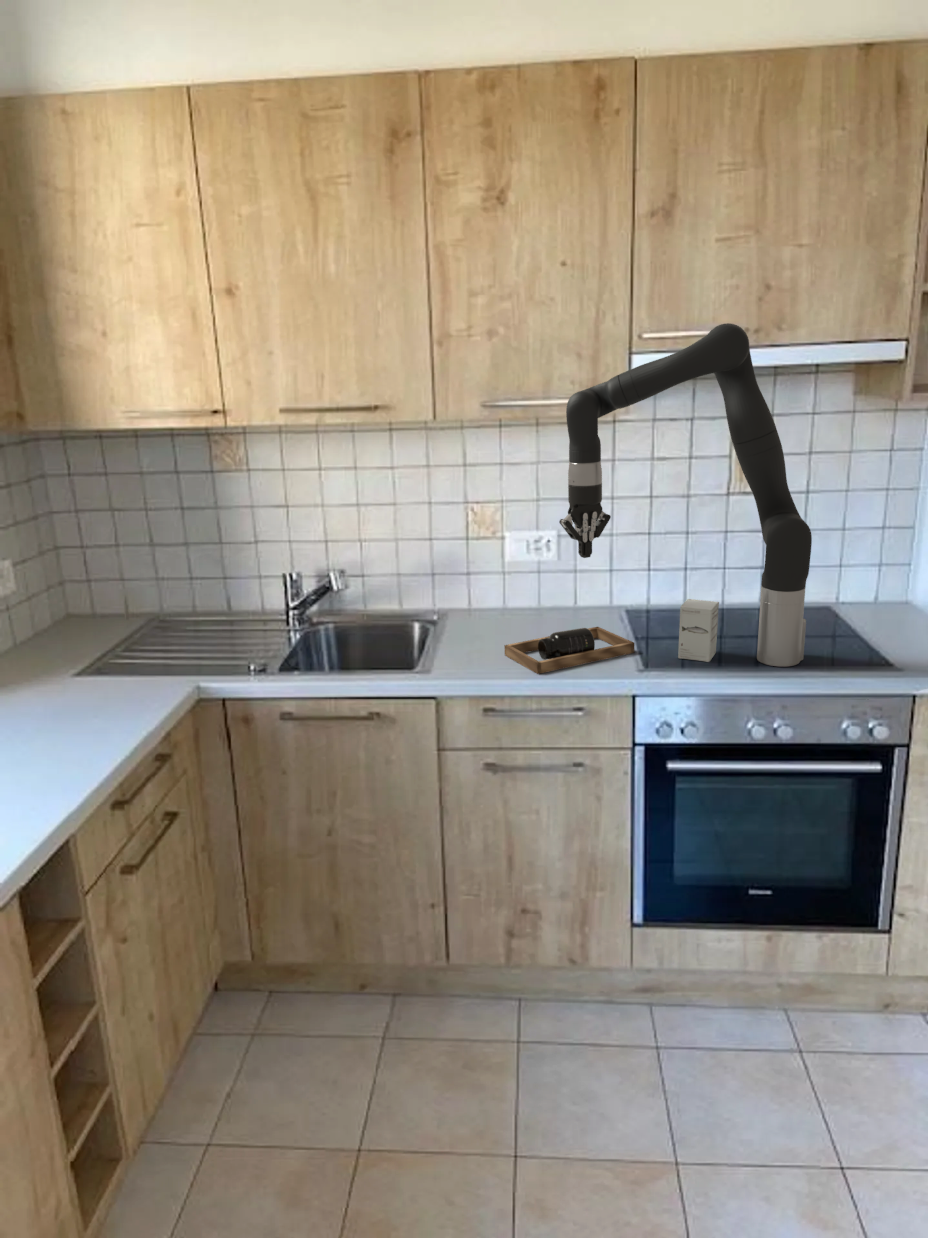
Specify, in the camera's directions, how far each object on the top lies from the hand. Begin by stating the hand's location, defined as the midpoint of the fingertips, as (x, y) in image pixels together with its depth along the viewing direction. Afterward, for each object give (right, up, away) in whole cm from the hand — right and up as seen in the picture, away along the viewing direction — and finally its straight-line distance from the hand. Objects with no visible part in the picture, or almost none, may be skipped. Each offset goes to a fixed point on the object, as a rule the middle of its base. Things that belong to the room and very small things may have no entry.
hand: (585, 556), depth 207 cm
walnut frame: (-3, -23, +5) cm, 23 cm away
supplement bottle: (+1, -20, +3) cm, 20 cm away
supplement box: (+26, -23, +1) cm, 35 cm away
